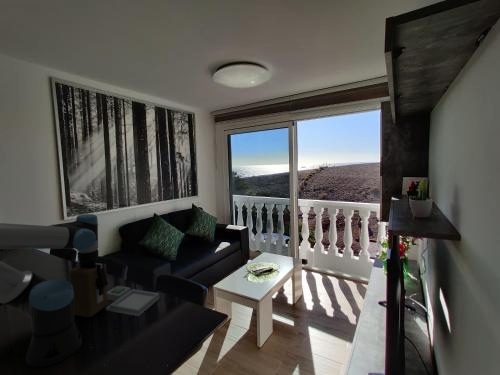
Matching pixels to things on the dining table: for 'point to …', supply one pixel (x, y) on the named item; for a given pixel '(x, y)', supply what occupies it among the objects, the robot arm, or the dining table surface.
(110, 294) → the button housing
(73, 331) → the robot arm
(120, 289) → the button
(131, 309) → the shallow gray rectangular tray
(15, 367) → the dining table surface
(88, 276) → the wooden block
